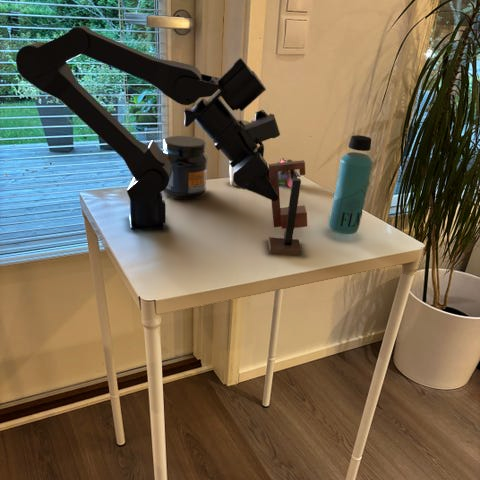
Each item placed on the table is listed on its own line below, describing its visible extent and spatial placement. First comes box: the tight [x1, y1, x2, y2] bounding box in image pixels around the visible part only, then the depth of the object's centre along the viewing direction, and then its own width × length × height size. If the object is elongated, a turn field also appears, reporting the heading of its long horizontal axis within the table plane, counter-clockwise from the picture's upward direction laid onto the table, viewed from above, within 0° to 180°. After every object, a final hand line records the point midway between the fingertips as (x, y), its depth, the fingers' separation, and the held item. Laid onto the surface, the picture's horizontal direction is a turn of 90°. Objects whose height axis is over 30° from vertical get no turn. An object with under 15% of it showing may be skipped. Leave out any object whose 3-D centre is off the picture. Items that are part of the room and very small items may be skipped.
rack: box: [267, 159, 303, 257], centre depth 99 cm, size 6×16×14 cm, turn 1°
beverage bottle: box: [328, 134, 374, 235], centre depth 101 cm, size 6×7×20 cm
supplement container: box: [162, 135, 209, 200], centre depth 116 cm, size 10×10×12 cm
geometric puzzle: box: [276, 157, 302, 189], centre depth 129 cm, size 7×7×8 cm
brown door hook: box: [268, 159, 308, 230], centre depth 100 cm, size 7×4×12 cm, turn 91°
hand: (275, 191), depth 100 cm, fingers open, 9 cm apart
